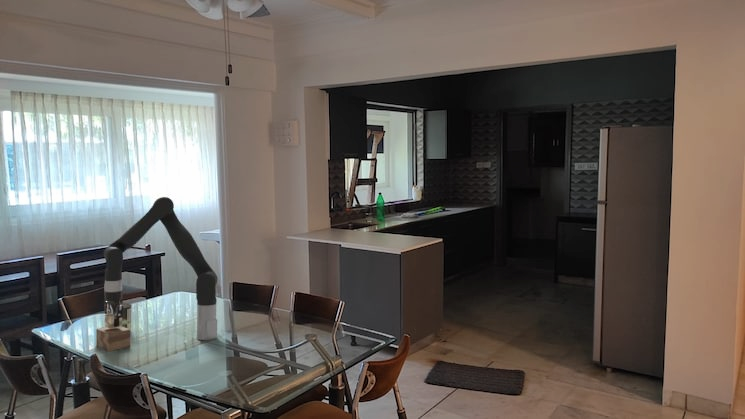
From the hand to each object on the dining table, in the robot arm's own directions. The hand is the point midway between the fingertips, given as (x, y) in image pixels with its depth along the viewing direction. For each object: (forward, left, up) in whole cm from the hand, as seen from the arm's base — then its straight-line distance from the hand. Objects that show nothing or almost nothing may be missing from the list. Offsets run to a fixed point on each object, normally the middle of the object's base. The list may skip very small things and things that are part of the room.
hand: (113, 325), depth 254 cm
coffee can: (+17, -12, -10) cm, 23 cm away
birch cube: (0, 0, -1) cm, 1 cm away
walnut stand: (0, 0, -10) cm, 10 cm away
